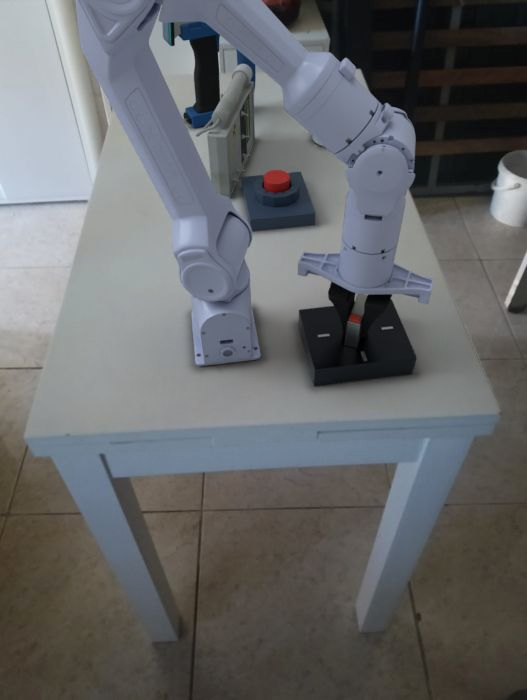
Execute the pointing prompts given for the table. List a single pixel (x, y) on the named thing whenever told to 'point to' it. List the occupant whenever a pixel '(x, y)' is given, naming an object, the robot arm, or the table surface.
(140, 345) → the table surface
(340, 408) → the table surface
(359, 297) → the dial
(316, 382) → the control panel
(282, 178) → the power button
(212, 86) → the handheld scanner
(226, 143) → the geiger counter
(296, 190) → the button box
